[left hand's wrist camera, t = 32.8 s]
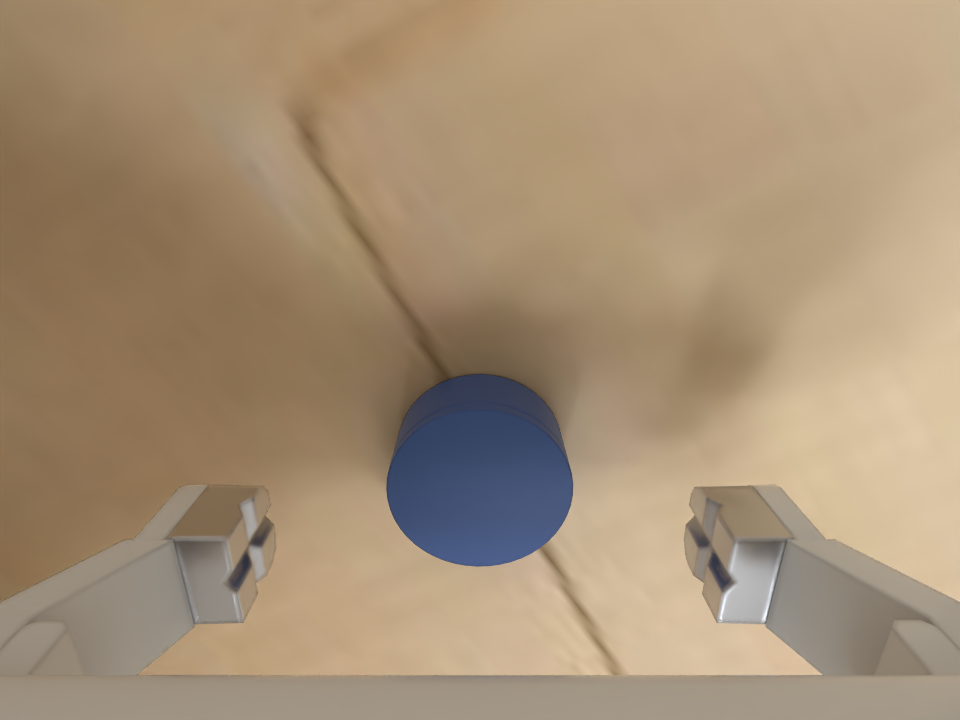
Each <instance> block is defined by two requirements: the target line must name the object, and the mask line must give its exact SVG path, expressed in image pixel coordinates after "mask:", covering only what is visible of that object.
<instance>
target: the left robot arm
mask: <svg viewBox="0 0 960 720" xmlns="http://www.w3.org/2000/svg"><path fill="white" fill-rule="evenodd" d="M270 506H271V504H270V499H269V494H268V490H267V489H266V488H265V487H264V486H237V485H185V486H182V487H179V488H178V489H177V491H176V492H175V493H174V494H173V495H172V496H171V497H170V499H169V500H168V501H167V502H166V503H165V504H164V505H163V507H162V508H161V509H160V510H159V511H158V512H157V513H156V515H155V516H154V517H153V518H152V519H151V520H150V521H149V523H148V524H147V525H146V526H145V527H144V528H143V529H142V530H141V532H140V533H139V534H138V535H137V536H136V537H135V538H134V539H125V540H123V541H121V542H119V543H117V544H115V545H113V546H111V547H109V548H107V549H105V550H103V551H101V552H99V553H97V554H95V555H93V556H91V557H89V558H87V559H85V560H83V561H81V562H79V563H77V564H75V565H73V566H71V567H69V568H67V569H65V570H63V571H61V572H59V573H57V574H55V575H53V576H51V577H49V578H47V579H45V580H43V581H41V582H39V583H37V584H35V585H33V586H31V587H29V588H27V589H25V590H23V591H21V592H19V593H17V594H15V595H13V596H11V597H9V598H7V599H5V600H3V601H1V602H0V720H960V602H958V601H956V600H954V599H952V598H950V597H948V596H946V595H945V594H943V593H941V592H939V591H937V590H935V589H933V588H931V587H929V586H927V585H925V584H923V583H921V582H919V581H917V580H915V579H913V578H911V577H909V576H907V575H905V574H903V573H901V572H899V571H897V570H895V569H893V568H891V567H889V566H887V565H885V564H883V563H881V562H879V561H877V560H875V559H873V558H871V557H869V556H867V555H865V554H863V553H861V552H859V551H857V550H855V549H853V548H851V547H849V546H847V545H845V544H843V543H841V542H839V541H837V540H835V539H826V538H825V537H824V536H823V535H822V534H821V533H820V532H819V531H818V529H817V528H816V527H815V526H814V525H813V524H812V523H811V521H810V520H809V519H808V518H807V517H806V516H805V515H804V513H803V512H802V511H801V510H800V509H799V508H798V507H797V505H796V504H795V503H794V502H793V501H792V500H791V499H790V497H789V496H788V495H787V494H786V493H785V492H784V491H783V490H782V488H780V487H779V486H776V485H748V486H712V487H694V489H693V491H692V493H691V498H690V503H689V506H690V507H691V509H692V511H693V513H694V515H695V516H694V517H693V518H692V519H691V520H690V521H689V522H688V523H687V524H686V528H685V536H684V545H685V555H686V558H687V562H688V565H689V567H690V569H691V572H692V574H693V575H694V576H695V577H696V578H698V579H699V580H701V581H702V582H703V583H704V587H703V592H702V594H703V596H704V598H705V600H706V602H707V604H708V606H709V608H710V610H711V612H712V614H713V616H714V618H715V620H716V622H717V623H743V624H766V627H767V628H768V629H769V630H770V631H772V632H773V633H774V634H775V635H776V636H777V637H779V638H780V639H781V640H782V641H783V642H785V643H786V644H787V645H788V646H789V647H791V648H792V649H793V650H794V651H795V652H797V653H798V654H799V655H800V656H801V657H802V658H804V659H805V660H806V661H807V662H808V663H810V664H811V665H812V666H813V667H814V668H816V669H817V670H818V671H819V672H820V673H821V674H823V675H137V674H139V673H140V672H141V671H142V670H143V669H145V668H146V667H147V666H148V665H149V664H151V663H152V662H153V661H154V660H155V659H157V658H158V657H159V656H160V655H161V654H163V653H164V652H165V651H166V650H167V649H168V648H170V647H171V646H172V645H173V644H174V643H176V642H177V641H178V640H179V639H180V638H182V637H183V636H184V635H185V634H186V633H188V632H189V631H190V630H191V629H192V628H193V627H194V624H216V623H243V622H244V620H245V618H246V616H247V614H248V612H249V610H250V608H251V606H252V604H253V602H254V600H255V598H256V596H257V594H258V592H257V587H256V583H257V582H258V581H259V580H261V579H262V578H264V577H265V576H266V575H267V574H268V572H269V569H270V567H271V565H272V562H273V558H274V553H275V548H276V534H275V528H274V524H273V523H272V522H271V521H270V520H269V519H268V518H267V517H266V516H265V515H266V513H267V511H268V509H269V507H270Z"/></svg>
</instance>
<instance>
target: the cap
mask: <svg viewBox="0 0 960 720" xmlns="http://www.w3.org/2000/svg"><path fill="white" fill-rule="evenodd" d="M572 496H573V480H572V473H571V469H570V466H569V462H568V458H567V455H566V451H565V447H564V444H563V440H562V436H561V433H560V429H559V426H558V423H557V421H556V418H555V416H554V414H553V413H552V411H551V410H550V408H549V407H548V405H547V404H546V403H545V402H544V401H543V400H542V399H541V398H540V397H539V396H538V395H537V394H536V393H534V392H533V391H532V390H530V389H529V388H527V387H526V386H524V385H522V384H520V383H518V382H516V381H513V380H510V379H507V378H504V377H499V376H494V375H484V374H478V375H466V376H460V377H456V378H453V379H449V380H447V381H444V382H442V383H440V384H438V385H436V386H434V387H433V388H431V389H429V390H428V391H427V392H425V393H424V394H423V395H422V396H421V397H420V398H419V399H418V400H417V401H416V402H415V403H414V404H413V405H412V407H411V408H410V409H409V411H408V412H407V414H406V416H405V418H404V420H403V422H402V425H401V428H400V431H399V435H398V438H397V442H396V446H395V449H394V453H393V456H392V460H391V464H390V467H389V472H388V476H387V498H388V503H389V507H390V510H391V512H392V515H393V517H394V519H395V521H396V523H397V524H398V526H399V527H400V529H401V530H402V531H403V533H404V534H405V535H406V536H407V537H408V538H409V539H410V540H411V541H412V542H413V543H414V544H415V545H417V546H418V547H420V548H421V549H422V550H424V551H425V552H427V553H429V554H431V555H433V556H435V557H437V558H440V559H442V560H445V561H448V562H451V563H455V564H460V565H466V566H493V565H500V564H504V563H508V562H512V561H515V560H518V559H520V558H523V557H525V556H527V555H529V554H531V553H533V552H534V551H536V550H537V549H539V548H540V547H542V546H543V545H544V544H545V543H547V542H548V541H549V540H550V539H551V538H552V537H553V536H554V535H555V534H556V532H557V531H558V530H559V528H560V527H561V525H562V524H563V522H564V520H565V518H566V516H567V514H568V511H569V509H570V506H571V501H572Z"/></svg>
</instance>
